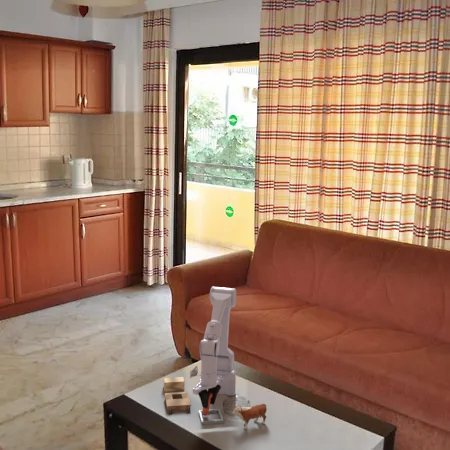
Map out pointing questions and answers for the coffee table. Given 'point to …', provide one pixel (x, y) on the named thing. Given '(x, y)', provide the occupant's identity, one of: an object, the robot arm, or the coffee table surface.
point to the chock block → (173, 384)
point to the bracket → (194, 372)
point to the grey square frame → (211, 420)
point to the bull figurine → (251, 413)
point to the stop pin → (206, 410)
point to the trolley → (178, 401)
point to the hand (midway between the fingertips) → (208, 405)
